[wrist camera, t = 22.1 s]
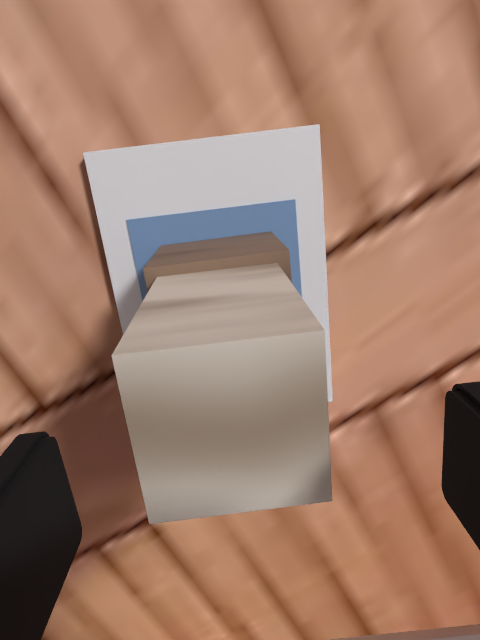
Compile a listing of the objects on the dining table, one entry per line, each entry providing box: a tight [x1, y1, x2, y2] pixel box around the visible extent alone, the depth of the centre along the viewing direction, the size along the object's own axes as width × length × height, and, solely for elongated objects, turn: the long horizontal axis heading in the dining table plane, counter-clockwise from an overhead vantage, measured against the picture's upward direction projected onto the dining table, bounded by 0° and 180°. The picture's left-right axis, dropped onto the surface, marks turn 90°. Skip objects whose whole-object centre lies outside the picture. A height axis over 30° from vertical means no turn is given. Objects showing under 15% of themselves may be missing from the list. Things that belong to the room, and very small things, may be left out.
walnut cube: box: [143, 231, 292, 291], centre depth 21 cm, size 6×6×6 cm
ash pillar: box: [111, 263, 332, 524], centre depth 15 cm, size 5×5×8 cm
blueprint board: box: [83, 125, 333, 402], centre depth 24 cm, size 16×12×1 cm
